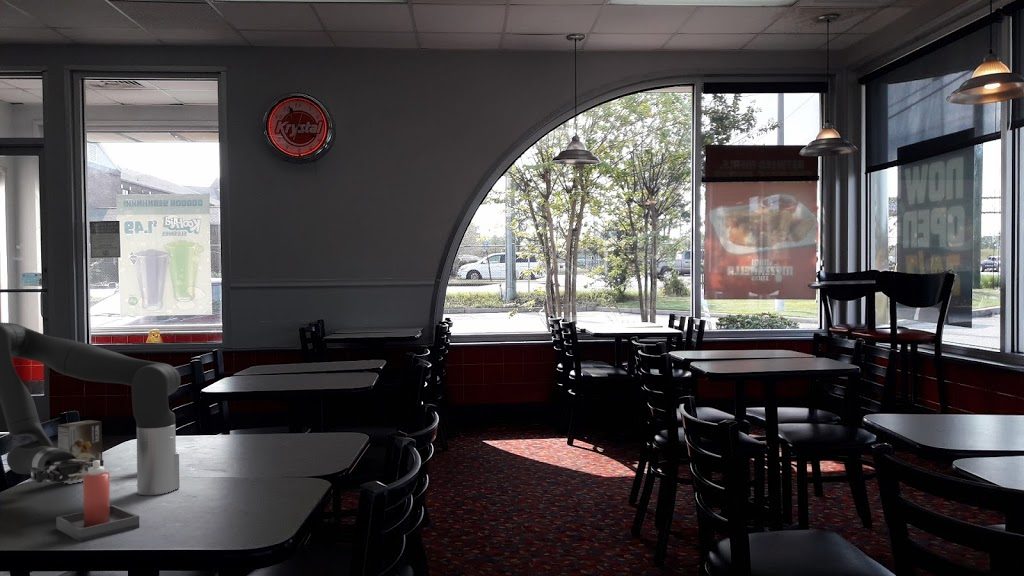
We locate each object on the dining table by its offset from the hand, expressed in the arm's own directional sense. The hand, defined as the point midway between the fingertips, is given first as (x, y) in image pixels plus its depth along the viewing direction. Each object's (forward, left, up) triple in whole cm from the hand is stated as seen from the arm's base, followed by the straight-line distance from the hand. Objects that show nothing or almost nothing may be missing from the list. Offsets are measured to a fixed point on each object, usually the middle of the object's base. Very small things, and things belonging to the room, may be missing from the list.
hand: (79, 474), depth 171 cm
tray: (0, +11, -10) cm, 15 cm away
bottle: (0, +11, -9) cm, 14 cm away
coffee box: (-14, -40, -11) cm, 44 cm away
